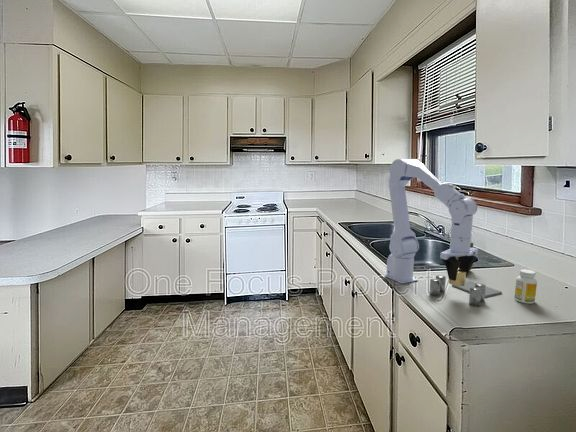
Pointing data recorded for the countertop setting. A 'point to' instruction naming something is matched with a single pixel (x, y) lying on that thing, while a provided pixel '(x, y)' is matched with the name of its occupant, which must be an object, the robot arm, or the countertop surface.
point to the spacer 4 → (482, 287)
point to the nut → (459, 278)
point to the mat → (472, 284)
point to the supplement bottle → (526, 287)
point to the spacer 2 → (441, 282)
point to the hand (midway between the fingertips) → (457, 278)
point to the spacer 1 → (434, 287)
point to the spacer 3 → (475, 296)
